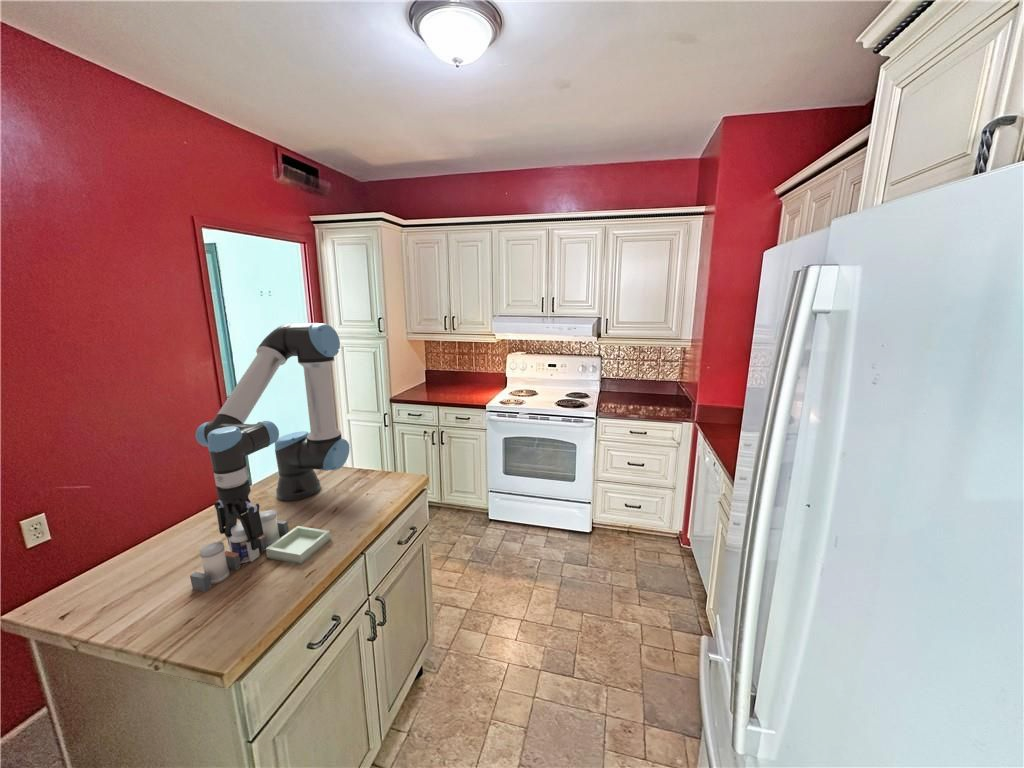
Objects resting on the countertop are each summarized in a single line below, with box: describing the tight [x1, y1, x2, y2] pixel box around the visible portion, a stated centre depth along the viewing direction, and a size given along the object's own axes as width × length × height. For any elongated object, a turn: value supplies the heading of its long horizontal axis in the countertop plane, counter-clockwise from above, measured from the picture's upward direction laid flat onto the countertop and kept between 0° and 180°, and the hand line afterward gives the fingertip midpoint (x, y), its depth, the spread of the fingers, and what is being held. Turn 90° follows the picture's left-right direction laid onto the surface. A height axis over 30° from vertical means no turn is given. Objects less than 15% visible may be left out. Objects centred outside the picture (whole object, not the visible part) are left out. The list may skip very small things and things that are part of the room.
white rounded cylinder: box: [198, 541, 231, 585], centre depth 106 cm, size 5×5×9 cm
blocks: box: [189, 519, 290, 593], centre depth 114 cm, size 27×4×4 cm, turn 165°
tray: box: [265, 525, 332, 565], centre depth 119 cm, size 12×12×3 cm
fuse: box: [259, 509, 281, 547], centre depth 122 cm, size 5×5×9 cm
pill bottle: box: [230, 523, 250, 564], centre depth 114 cm, size 6×6×10 cm
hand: (245, 556), depth 115 cm, fingers closed on pill bottle, 6 cm apart
